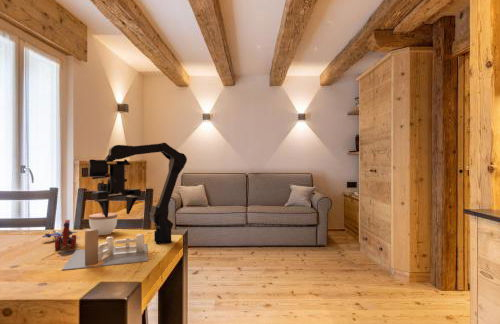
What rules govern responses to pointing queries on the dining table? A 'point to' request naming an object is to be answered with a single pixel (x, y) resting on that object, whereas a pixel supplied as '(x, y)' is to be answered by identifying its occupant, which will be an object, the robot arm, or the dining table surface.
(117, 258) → the card
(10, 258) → the dining table surface
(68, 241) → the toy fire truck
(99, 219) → the lidded bowl
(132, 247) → the fence fixed
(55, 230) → the toy airplane
